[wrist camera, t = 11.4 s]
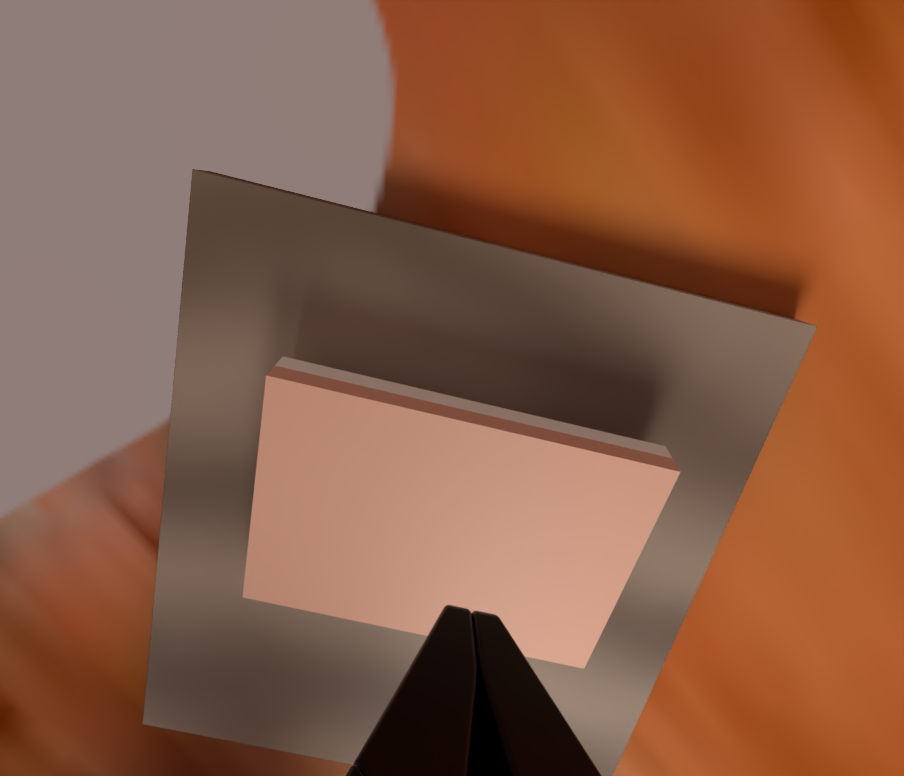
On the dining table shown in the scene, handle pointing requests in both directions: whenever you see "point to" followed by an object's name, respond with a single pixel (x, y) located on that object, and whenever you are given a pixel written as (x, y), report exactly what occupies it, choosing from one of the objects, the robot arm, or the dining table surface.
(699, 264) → the dining table surface
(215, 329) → the board
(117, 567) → the dining table surface
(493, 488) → the tile
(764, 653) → the dining table surface
